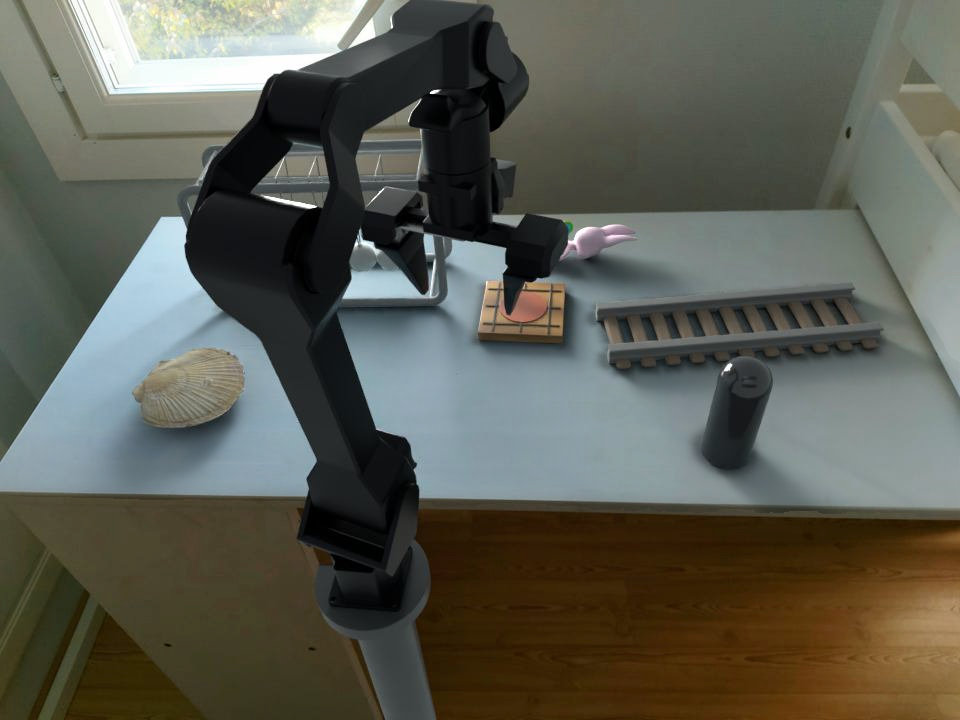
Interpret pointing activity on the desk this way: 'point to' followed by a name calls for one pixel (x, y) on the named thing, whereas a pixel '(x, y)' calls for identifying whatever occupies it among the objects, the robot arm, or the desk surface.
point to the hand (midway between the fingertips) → (466, 302)
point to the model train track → (734, 325)
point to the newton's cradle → (362, 252)
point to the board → (524, 314)
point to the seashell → (190, 388)
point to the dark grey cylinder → (736, 412)
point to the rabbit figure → (596, 239)
